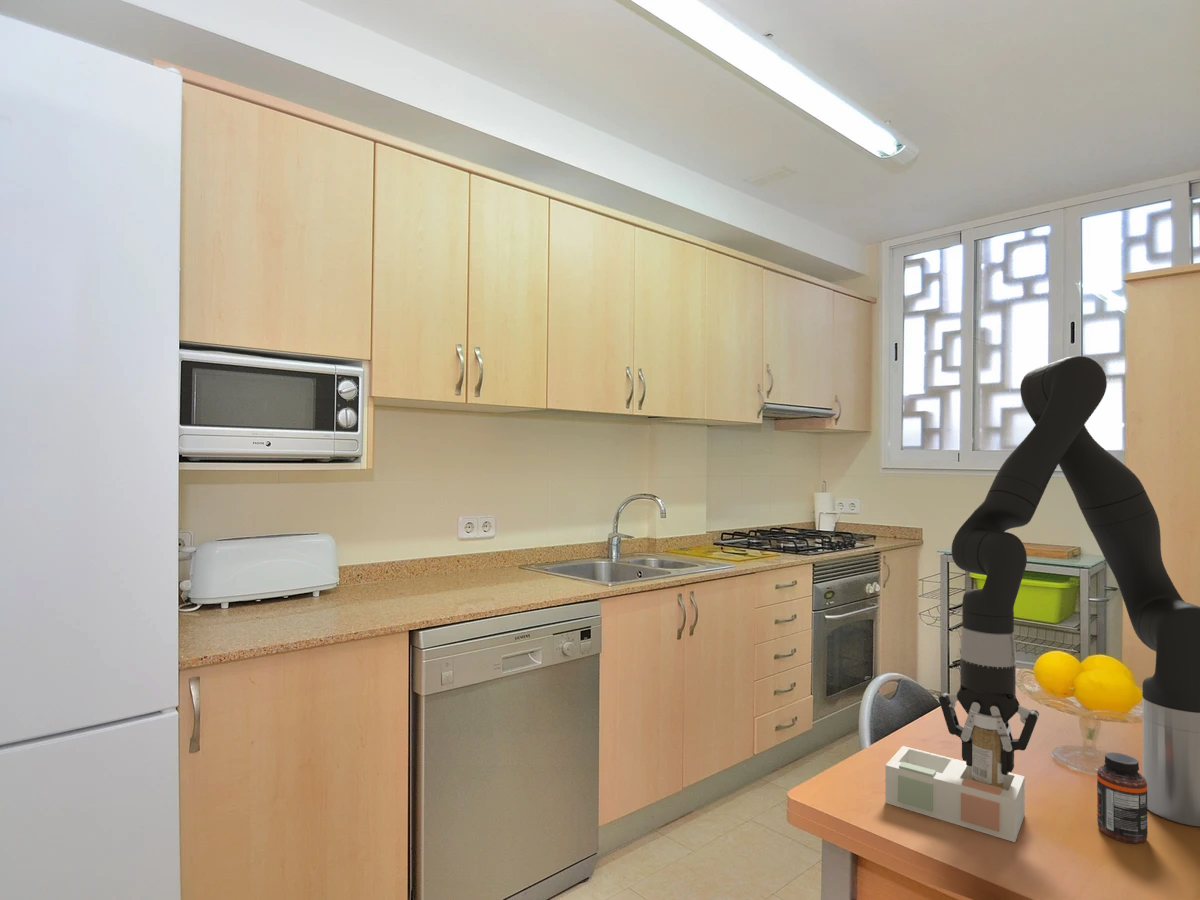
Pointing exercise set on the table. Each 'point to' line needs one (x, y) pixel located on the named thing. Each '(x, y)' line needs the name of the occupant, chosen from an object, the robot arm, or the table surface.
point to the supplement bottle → (1122, 799)
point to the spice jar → (986, 751)
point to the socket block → (954, 793)
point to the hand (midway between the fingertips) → (987, 768)
